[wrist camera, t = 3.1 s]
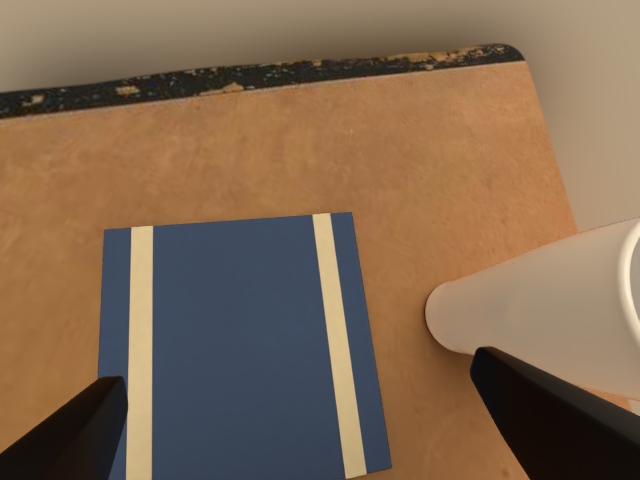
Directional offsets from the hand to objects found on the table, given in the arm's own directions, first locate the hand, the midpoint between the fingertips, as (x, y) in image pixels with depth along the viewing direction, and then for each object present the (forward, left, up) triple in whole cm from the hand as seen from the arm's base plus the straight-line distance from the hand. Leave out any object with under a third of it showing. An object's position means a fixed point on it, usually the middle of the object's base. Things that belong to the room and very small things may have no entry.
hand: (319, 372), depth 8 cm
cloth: (0, +3, -15) cm, 15 cm away
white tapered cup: (0, -13, -15) cm, 20 cm away
